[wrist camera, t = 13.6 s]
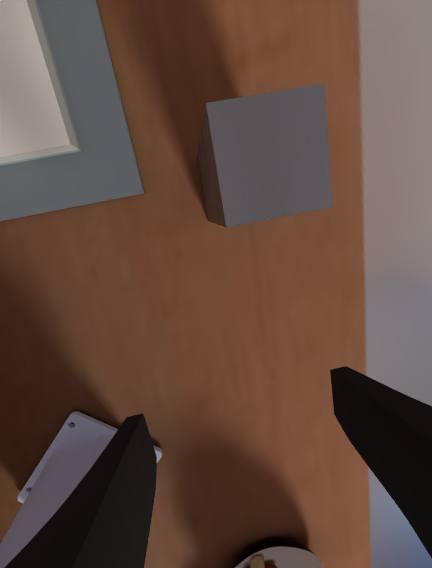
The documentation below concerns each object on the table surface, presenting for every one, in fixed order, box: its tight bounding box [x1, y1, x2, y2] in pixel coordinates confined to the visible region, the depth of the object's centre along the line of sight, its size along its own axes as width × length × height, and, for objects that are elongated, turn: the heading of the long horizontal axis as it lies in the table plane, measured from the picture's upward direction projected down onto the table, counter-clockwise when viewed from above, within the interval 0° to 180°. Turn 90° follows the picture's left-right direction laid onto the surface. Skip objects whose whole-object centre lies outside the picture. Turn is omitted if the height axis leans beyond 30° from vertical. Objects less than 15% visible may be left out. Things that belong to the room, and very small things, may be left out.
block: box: [197, 84, 332, 227], centre depth 14 cm, size 4×4×9 cm
